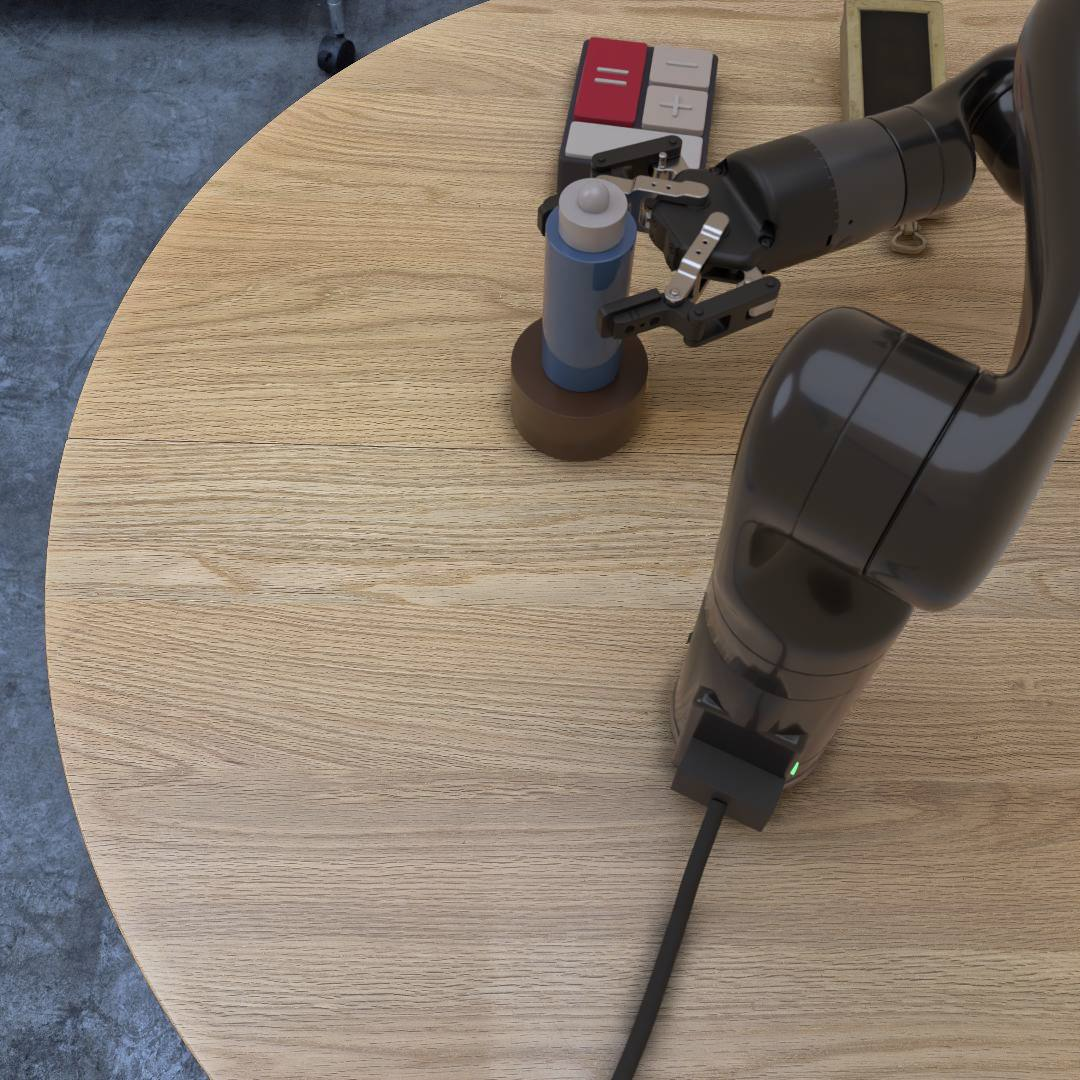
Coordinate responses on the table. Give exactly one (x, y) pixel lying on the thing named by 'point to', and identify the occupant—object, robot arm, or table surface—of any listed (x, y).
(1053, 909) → the table surface
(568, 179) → the calculator
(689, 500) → the table surface
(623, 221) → the pepper mill
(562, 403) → the stand
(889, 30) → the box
